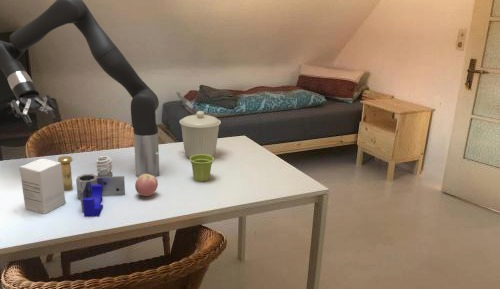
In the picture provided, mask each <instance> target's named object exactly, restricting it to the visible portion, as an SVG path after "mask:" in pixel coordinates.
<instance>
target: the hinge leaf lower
mask: <svg viewBox="0 0 500 289" xmlns="http://www.w3.org/2000/svg"><path fill="white" fill-rule="evenodd" d="M76 192H77V193H76V194H77V199H78V200H80V202H81V203H80V205H81V214H82V213H83V214H84V207H83V199H84V198H91V192H92V191H88V189H87V182H86V181H85V182H84V184H83V187H82V190H81V191H80V190H77V189H76Z"/></svg>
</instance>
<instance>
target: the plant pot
mask: <svg viewBox="0 0 500 289" xmlns="http://www.w3.org/2000/svg"><path fill="white" fill-rule="evenodd" d="M214 160H215V159H214V156H213V157H212V156H210V155H204V154H199V155H194V156H191V157H190V158H189V161H190V164H191V168H192V175H193V180H194V181H196V182H199V183H201V182H208V181H209V180H210V176H211V170H212V164H213V162H214Z"/></svg>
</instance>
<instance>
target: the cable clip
mask: <svg viewBox="0 0 500 289" xmlns="http://www.w3.org/2000/svg"><path fill="white" fill-rule="evenodd" d="M91 188H92V192H91V198H84V199H83V207H84V212H83V217H88V218H89V217H90V218H91V217H94V218H95V217H100V215H101V213H102V210H103V209H104V204H102V202H103V201H104V200H103V196H102V185H92V186H91Z"/></svg>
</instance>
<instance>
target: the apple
mask: <svg viewBox="0 0 500 289" xmlns="http://www.w3.org/2000/svg"><path fill="white" fill-rule="evenodd" d="M158 186H159V182H158V179H157V176H153V175H150V174H142V175H140V176H137V178H136V180H135V183H134V188H135V190H136V192H137V194H139V195H141V196H144V197H150V196H152V195H153V194H154V193H155V192H156V191H157V189H158Z"/></svg>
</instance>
